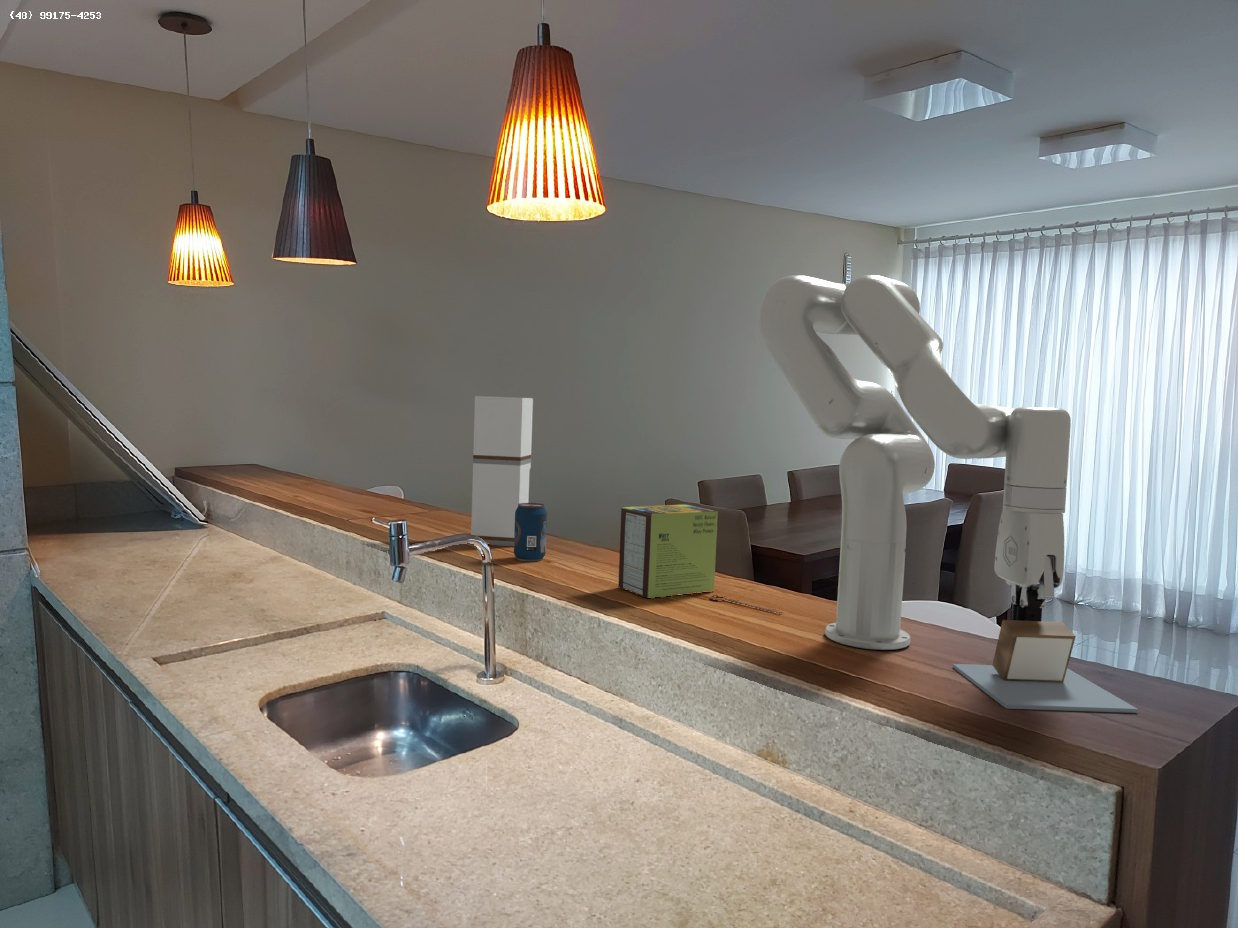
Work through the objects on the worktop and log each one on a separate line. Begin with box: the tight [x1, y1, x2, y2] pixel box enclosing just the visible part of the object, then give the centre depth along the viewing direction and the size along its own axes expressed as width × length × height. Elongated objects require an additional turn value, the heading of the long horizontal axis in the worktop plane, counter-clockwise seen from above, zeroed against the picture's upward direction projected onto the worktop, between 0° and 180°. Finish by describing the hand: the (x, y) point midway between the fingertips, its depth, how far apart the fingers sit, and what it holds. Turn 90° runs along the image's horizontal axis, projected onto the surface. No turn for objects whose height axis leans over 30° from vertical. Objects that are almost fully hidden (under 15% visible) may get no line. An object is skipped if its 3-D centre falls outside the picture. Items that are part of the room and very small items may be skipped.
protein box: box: [617, 504, 719, 599], centre depth 161 cm, size 10×15×16 cm
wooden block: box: [991, 619, 1076, 682], centre depth 113 cm, size 4×8×7 cm, turn 91°
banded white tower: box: [470, 395, 534, 547], centre depth 206 cm, size 11×11×35 cm
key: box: [709, 594, 783, 614], centre depth 152 cm, size 6×1×15 cm
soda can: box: [513, 502, 548, 562], centre depth 186 cm, size 7×7×12 cm
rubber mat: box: [952, 663, 1138, 714], centre depth 111 cm, size 16×16×1 cm
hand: (1025, 634), depth 116 cm, fingers closed
